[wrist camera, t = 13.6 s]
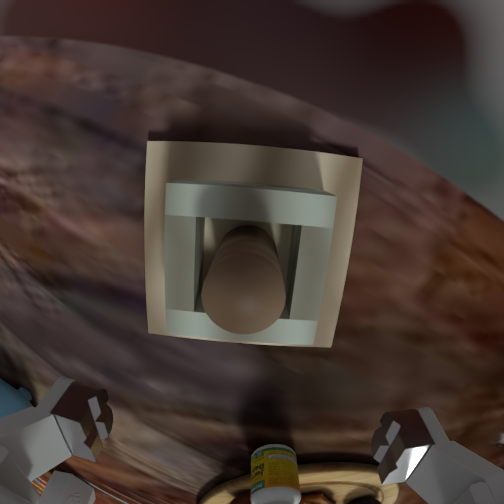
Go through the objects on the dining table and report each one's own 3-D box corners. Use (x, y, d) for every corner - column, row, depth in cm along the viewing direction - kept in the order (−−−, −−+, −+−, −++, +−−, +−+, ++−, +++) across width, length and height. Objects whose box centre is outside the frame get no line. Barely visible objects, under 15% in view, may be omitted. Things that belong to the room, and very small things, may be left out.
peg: (279, 227, 24) (290, 261, 16) (273, 282, 25) (280, 337, 17) (220, 222, 24) (202, 254, 16) (217, 278, 25) (200, 330, 17)
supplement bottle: (287, 468, 33) (292, 530, 24) (245, 463, 33) (244, 527, 24) (302, 445, 32) (311, 511, 23) (258, 439, 31) (258, 508, 22)
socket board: (359, 158, 23) (382, 159, 18) (329, 342, 27) (341, 374, 23) (150, 141, 23) (127, 138, 18) (151, 328, 27) (134, 358, 23)
